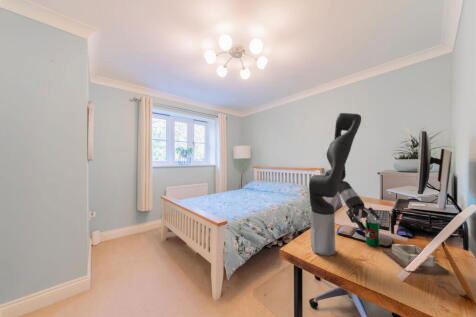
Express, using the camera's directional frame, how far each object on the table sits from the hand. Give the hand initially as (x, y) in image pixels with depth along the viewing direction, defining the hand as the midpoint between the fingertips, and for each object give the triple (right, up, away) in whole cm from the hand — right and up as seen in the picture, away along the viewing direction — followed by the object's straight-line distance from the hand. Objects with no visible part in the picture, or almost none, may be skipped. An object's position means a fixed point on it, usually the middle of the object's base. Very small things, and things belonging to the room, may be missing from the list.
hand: (372, 229), depth 82 cm
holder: (+5, -7, -14) cm, 16 cm away
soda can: (0, -7, 0) cm, 7 cm away
